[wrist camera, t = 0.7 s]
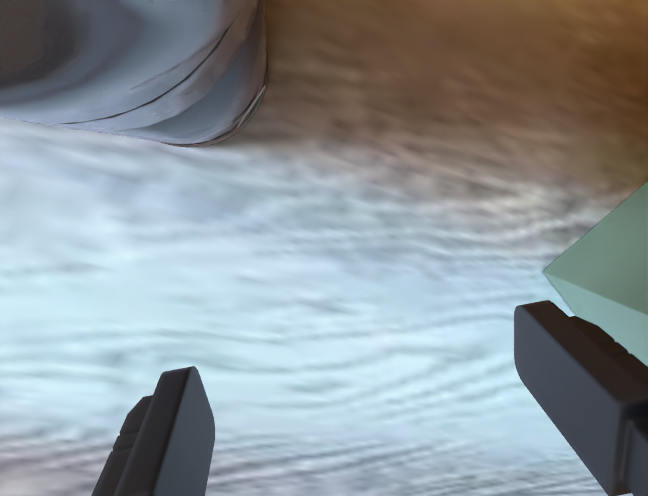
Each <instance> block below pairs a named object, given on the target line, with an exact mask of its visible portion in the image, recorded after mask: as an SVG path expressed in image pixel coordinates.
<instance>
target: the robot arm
mask: <svg viewBox="0 0 648 496" xmlns="http://www.w3.org/2000/svg"><path fill="white" fill-rule="evenodd" d="M267 77H268V55H267V48H266V38H265V17H264V0H0V117H1V118H7V119H14V120H21V121H25V122H32V123H38V124H45V125H52V126H58V127H65V128H71V129H78V130H86V131H93V132H99V133H106V134H113V135H119V136H126V137H132V138H139V139H145V140H152V141H158V142H161V143H165V144H168V145H173V146H180V147H200V146H207V145H211V144H214V143H217V142H220V141H222V140H224V139H226V138H228V137H230V136H232V135H233V134H235V133H236V132H237V131H239V130H240V129H241V128H242V127H243V126H244V125H245V124H246V123H247V122H248V121H249V120H250V119H251V117H252V116H253V115H254V113H255V112H256V110H257V108H258V107H259V104H260V102H261V100H262V98H263V95H264V92H265V88H266V84H267ZM514 359H515V365H516V369H517V372H518V374H519V376H520V379H521V380H522V382H523V383H524V385H525V386H526V387H527V389H528V390H529V391H530V393H531V394H532V395H533V397H534V398H535V399H536V401H537V402H538V403H539V405H540V406H541V407H542V409H543V410H544V411H545V412H546V414H547V415H548V416H549V418H550V419H551V420H552V422H553V423H554V424H555V426H556V427H557V428H558V430H559V431H560V432H561V434H562V435H563V436H564V438H565V439H566V440H567V442H568V443H569V444H570V446H571V447H572V448H573V449H574V451H575V452H576V453H577V455H578V456H579V457H580V459H581V460H582V461H583V463H584V464H585V465H586V467H587V468H588V469H589V471H590V472H591V473H592V475H593V476H594V477H595V479H596V480H597V481H598V483H599V484H600V485H601V486H602V488H603V489H604V490H605V492H606V493H607V494H608V496H618V495H623V494H628V493H632V494H633V495H634V496H648V367H647V366H646V365H645V364H644V363H643V362H641V361H640V360H639V359H638V358H637V357H635V356H634V355H633V354H632V353H630V354H629V353H628V350H627V349H626V348H624V347H623V346H622V345H621V344H620V343H618V342H615V341H614V338H612V337H611V336H610V335H609V334H608V333H606V332H605V331H604V330H603V329H601V328H600V327H599V326H598V325H595V324H593V323H591V322H589V321H586V320H584V319H582V318H580V317H577V316H572V317H569V316H567V315H566V314H565V313H564V312H563V311H562V310H561V309H559V308H558V307H557V306H556V305H555V304H554V303H553V302H551V301H549V300H546V301H540V302H535V303H530V304H525V305H519V306H517V307H516V308H515V312H514ZM214 441H215V423H214V417H213V414H212V410H211V407H210V404H209V401H208V398H207V396H206V393H205V390H204V387H203V384H202V381H201V378H200V375H199V372H198V370H197V368H196V367H194V366H192V367H187V368H182V369H176V370H171V371H166V372H163V373H162V374H161V376H160V379H159V381H158V384H157V387H156V389H155V392H154V394H153V395H151V396H146V397H143V398H142V399H141V400H140V401H139V402H138V403H137V404H136V406H135V407H134V408H133V409H132V410H131V411H130V412H129V413H128V415H127V417H126V419H125V421H124V424H123V426H122V428H121V430H120V436H118V437H117V439H116V442H115V444H114V446H113V451H112V452H111V453H110V455H109V457H108V460H107V462H106V464H105V466H104V469H103V471H102V473H101V475H100V478H99V480H98V482H97V484H96V487H95V489H94V491H93V493H92V496H205V491H206V485H207V480H208V474H209V469H210V463H211V458H212V452H213V447H214Z"/></svg>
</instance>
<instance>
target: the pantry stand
mask: <svg viewBox="0 0 648 496" xmlns="http://www.w3.org/2000/svg"><path fill="white" fill-rule="evenodd" d="M542 272H543V274H544V275H545V276H546V278H547V279H548V280H549V282H550V283H551V284H552V286H553V287H554V288H555V289H556V291H557V292H558V293H559V295H560V296H561V297H562V299H563V300H564V301H565V303H566V304H567V305H568V307H569V308H570V309H571V310H572V312H573V313H574V314H575V316H577V317H580V318H582V319H584V320H586V321H589V322H591V323H593V324H595V325H598V326H599V327H600V328H601V329H603V330H604V331H605V332H606V333H608V334H609V335H610V336H611V337H612V338H614V341H615V342H618V343H620V344H621V345H622V346H623V347H624V348H626V349H627V350H628V353H629V354H630V353H632V354H633V355H634V356H635V357H637V358H638V359H639V360H640V361H641V362H643V363H644V364H645V365H646V366H647V367H648V181H647V182H646V183H645V184H644V185H642V186H641V187H640V188H639V189H638V190H637V191H635V192H634V193H633V194H632V195H631V196H630V197H628V198H627V199H626V200H625V201H624V202H622V203H621V204H620V205H619V206H618V207H617V208H615V209H614V210H613V211H612V212H611V213H610V214H608V215H607V216H606V217H605V218H604V219H603V220H601V221H600V222H599V223H598V224H597V225H596V226H594V227H593V228H592V229H591V230H590V231H589V232H587V233H586V234H585V235H584V236H583V237H582V238H580V239H579V240H578V241H577V242H576V243H575V244H573V245H572V246H571V247H570V248H569V249H568V250H566V251H565V252H564V253H563V254H562V255H561V256H559V257H558V258H557V259H556V260H555V261H554V262H552V263H551V264H550V265H549V266H548V267H546V268H545V269H544V270H543V271H542Z"/></svg>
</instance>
